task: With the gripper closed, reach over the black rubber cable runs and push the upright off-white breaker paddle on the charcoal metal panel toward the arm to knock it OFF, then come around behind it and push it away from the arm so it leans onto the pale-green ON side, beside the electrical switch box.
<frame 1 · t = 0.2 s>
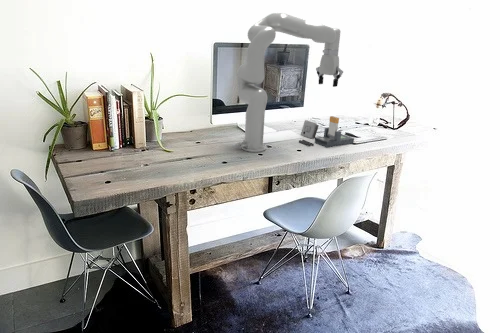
hand: (327, 85, 211), 31 cm above the table, fingers open, 9 cm apart
cable runs: (306, 144, 211), on the table
electrical switch: (308, 136, 227), on the table
breaker lever: (333, 127, 211), point 9 cm above the table, hinge at 0.0°
breaker panel: (333, 143, 215), on the table
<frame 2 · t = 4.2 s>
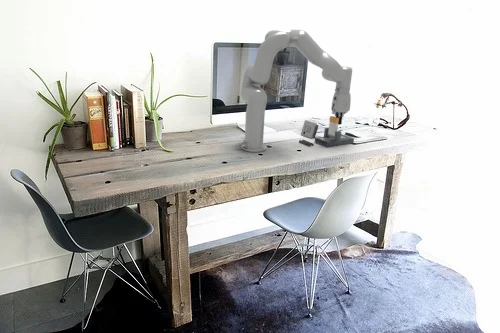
hand: (338, 123, 212), 11 cm above the table, fingers closed
breaker lever: (333, 127, 211), point 9 cm above the table, hinge at 0.0°, touching gripper
everything else where it was.
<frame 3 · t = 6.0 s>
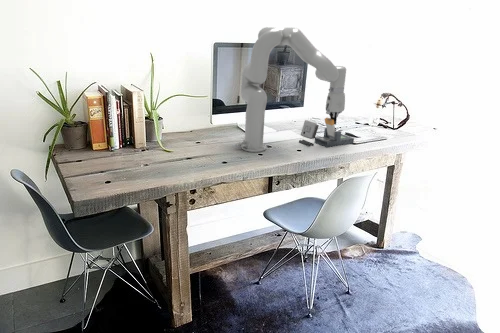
hand: (332, 124, 210), 11 cm above the table, fingers closed
breaker lever: (330, 128, 210), point 9 cm above the table, hinge at -21.8°, touching gripper
everything else where it was.
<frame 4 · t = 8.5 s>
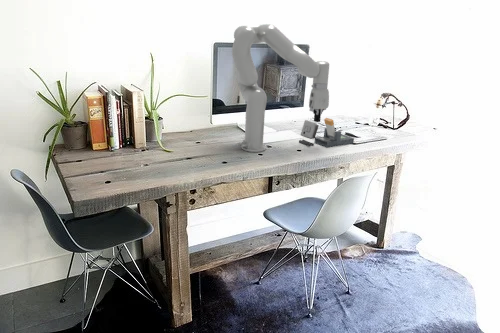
hand: (316, 121, 203), 14 cm above the table, fingers closed
breaker lever: (330, 128, 210), point 9 cm above the table, hinge at -23.9°
everything else where it was.
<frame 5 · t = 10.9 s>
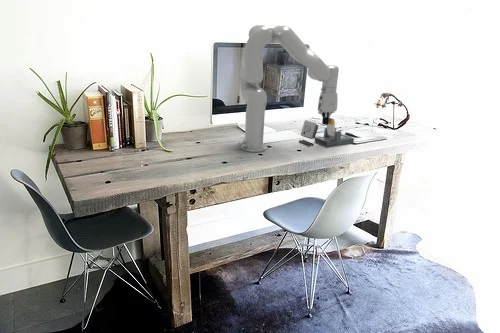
hand: (325, 124, 207), 12 cm above the table, fingers closed
breaker lever: (331, 128, 210), point 9 cm above the table, hinge at -19.6°, touching gripper
everything else where it was.
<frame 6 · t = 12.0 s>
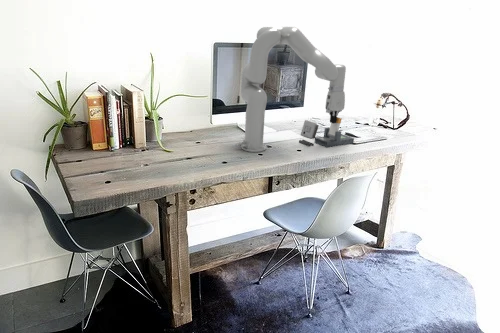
hand: (332, 122, 209), 12 cm above the table, fingers closed
breaker lever: (334, 127, 211), point 9 cm above the table, hinge at 11.7°, touching gripper
everything else where it was.
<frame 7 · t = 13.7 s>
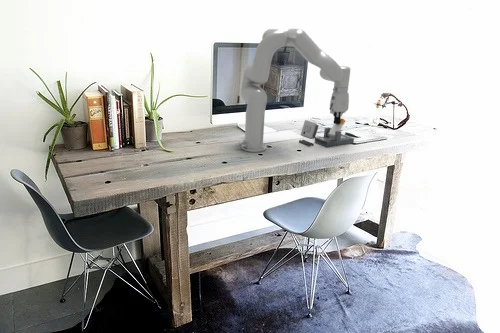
hand: (336, 123, 211), 11 cm above the table, fingers closed
breaker lever: (336, 128, 212), point 9 cm above the table, hinge at 30.7°, touching gripper
everything else where it was.
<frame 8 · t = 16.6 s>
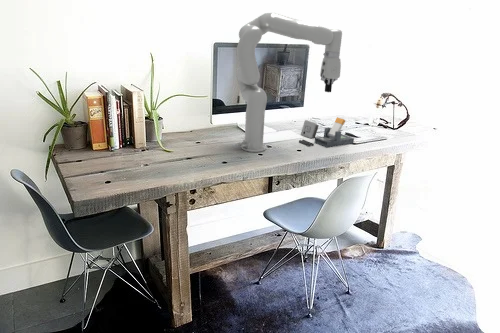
hand: (327, 91, 201), 29 cm above the table, fingers closed
breaker lever: (336, 128, 212), point 9 cm above the table, hinge at 30.7°
everything else where it was.
at the end: breaker lever at +31° (first picture: +0°) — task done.
